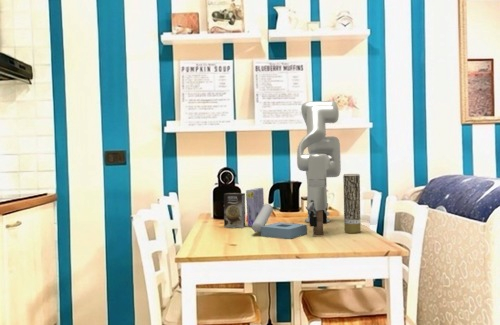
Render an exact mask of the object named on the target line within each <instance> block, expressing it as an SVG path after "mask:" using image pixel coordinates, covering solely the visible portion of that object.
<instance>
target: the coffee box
mask: <svg viewBox="0 0 500 325" xmlns="http://www.w3.org/2000/svg"><path fill="white" fill-rule="evenodd" d="M223 227H224V228H225V229H230V228H231V229H244V228H245V227H246V192H245V193H244V192H242V193H241V192H226V193H224V194H223Z"/></svg>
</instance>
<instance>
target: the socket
mask: <svg viewBox="0 0 500 325" xmlns="http://www.w3.org/2000/svg"><path fill="white" fill-rule="evenodd" d="M307 227H308V224H304V223H302V224H301V223H294V222H293V223H291V222H280V221H278V222H275V223H274V222H273V223H270V224H265V226H262V227H261V232H260V237H267V238H274V239H284V240H285V239H286V240H292V239H296V238H298V237H301V236H304V235H307V234H308V228H307Z"/></svg>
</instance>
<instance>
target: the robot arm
mask: <svg viewBox="0 0 500 325" xmlns="http://www.w3.org/2000/svg"><path fill="white" fill-rule="evenodd" d="M300 109H301V115H302V119H303V121H304V122H305V126H306V135H305V136H303V138H302V139H301V140H300V142H299V143H298V146H297V149H296V150H297V151H296V152H297V153H296V164H297V168H298V170H300V171H301V172H305V176H306V186H307V187H306V188H307V196H306V197H307V198H306V199H307V200H306V210H307V217H306V218H304V222H305V223H309V227H312V228H314V227H317V217H316V214H317V211H320V210H323V225H327V224H328V223H330V222H331V219H330V218H329V217H328V216H330V215H331V213H330V212H329V211H328V208H329V203H328V195H327V186H328V185H327V182H328V181H327V178H337V177H338V178H339V176H340V175H341V173H342V172H341V169H342V168H341V167H342V166H341V164H342V162H341V144H340V140H339V138H338V137H337V136H327V130H326V124H335V123H337V122H338V121H339V118H340V116H339V115H340V113H339V106H338V104H337V102H336V101H334V100H324V101H323V100H321V101H320V100H317V101H316V100H314V101H306V102H304V103H302V105H301V108H300ZM306 149H307V152H308V153H304V151H305V150H306ZM313 212H314V213H313Z"/></svg>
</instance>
